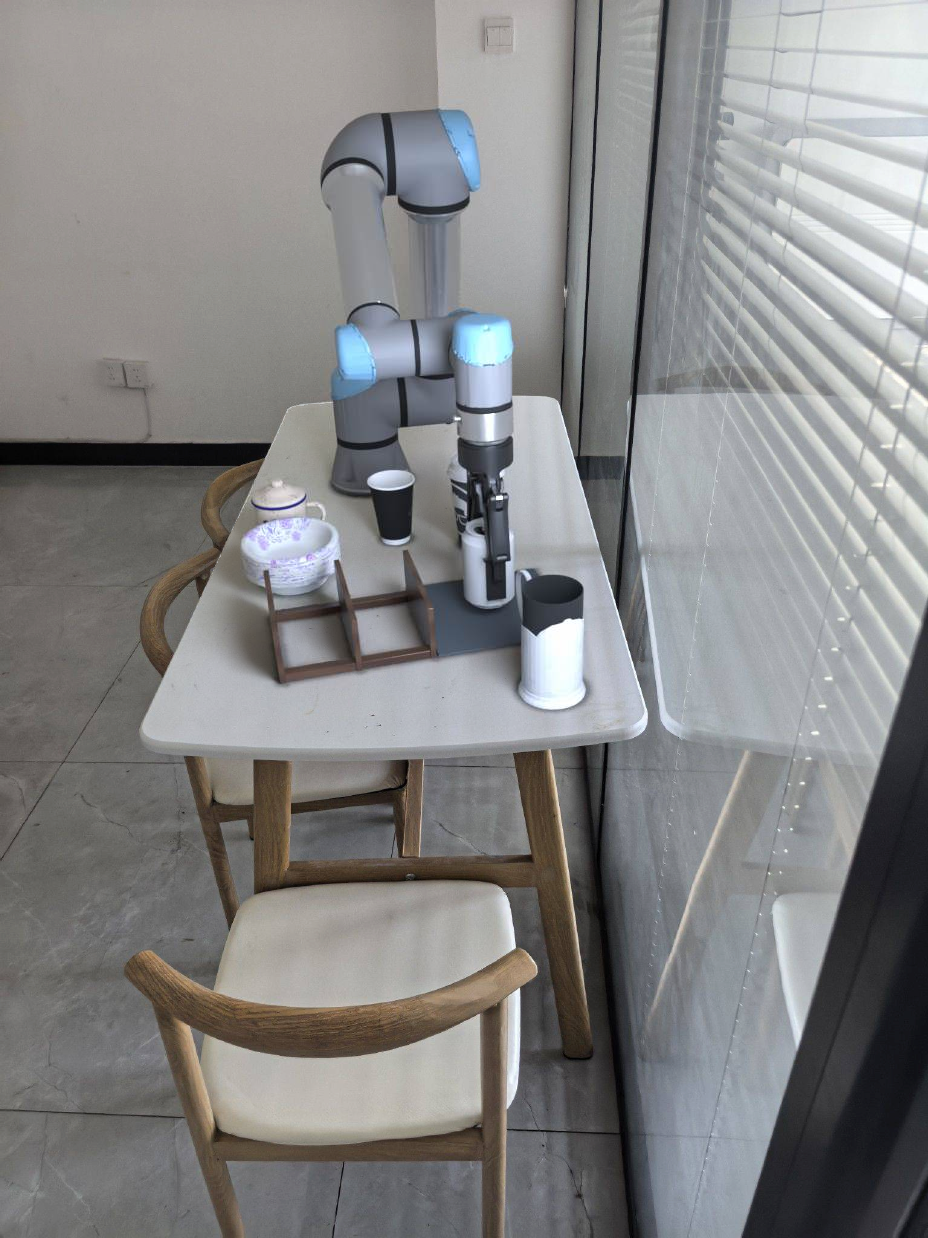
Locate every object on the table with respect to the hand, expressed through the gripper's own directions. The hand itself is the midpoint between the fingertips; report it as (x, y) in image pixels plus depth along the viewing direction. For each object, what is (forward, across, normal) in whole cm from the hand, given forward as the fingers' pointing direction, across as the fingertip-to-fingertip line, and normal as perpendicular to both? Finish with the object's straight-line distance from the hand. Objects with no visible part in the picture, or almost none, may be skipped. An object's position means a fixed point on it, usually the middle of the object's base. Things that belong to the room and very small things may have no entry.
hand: (489, 584), depth 141 cm
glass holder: (+5, +19, +2) cm, 20 cm away
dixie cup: (+5, -28, -9) cm, 30 cm away
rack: (+4, +1, -21) cm, 21 cm away
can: (+3, 0, 0) cm, 3 cm away
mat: (+4, 0, 0) cm, 4 cm away
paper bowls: (+5, -18, -27) cm, 33 cm away
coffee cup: (+5, -22, +4) cm, 23 cm away
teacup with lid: (+5, -32, -26) cm, 41 cm away
